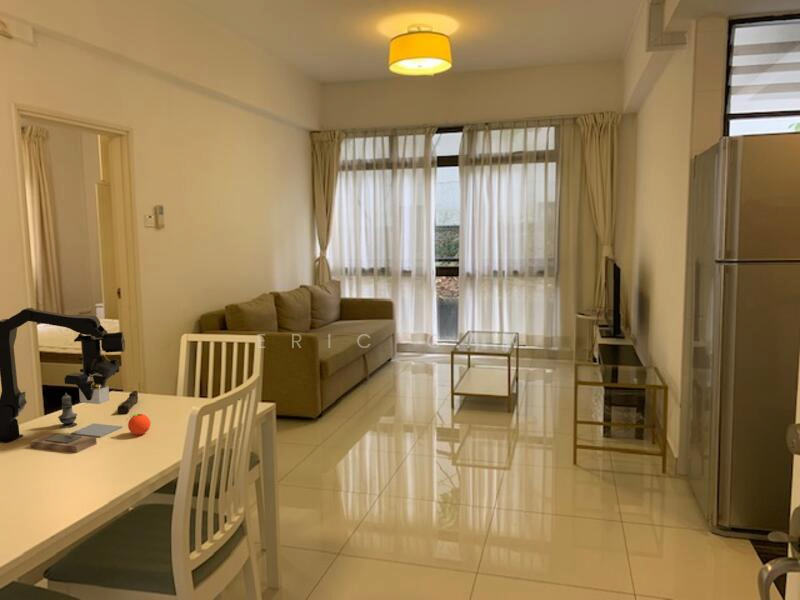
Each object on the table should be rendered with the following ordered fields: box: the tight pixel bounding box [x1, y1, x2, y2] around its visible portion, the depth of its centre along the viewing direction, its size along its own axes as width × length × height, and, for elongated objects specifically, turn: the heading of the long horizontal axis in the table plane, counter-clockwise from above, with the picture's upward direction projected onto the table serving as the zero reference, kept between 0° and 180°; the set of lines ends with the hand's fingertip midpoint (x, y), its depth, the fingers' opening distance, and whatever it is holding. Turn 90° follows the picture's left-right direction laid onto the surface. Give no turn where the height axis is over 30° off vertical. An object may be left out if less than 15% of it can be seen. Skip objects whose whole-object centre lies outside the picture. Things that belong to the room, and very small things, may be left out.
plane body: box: [30, 432, 97, 454], centre depth 190 cm, size 18×8×2 cm, turn 75°
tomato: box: [126, 413, 151, 436], centre depth 200 cm, size 8×7×7 cm
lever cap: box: [78, 383, 110, 405], centre depth 202 cm, size 8×4×6 cm, turn 75°
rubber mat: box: [70, 423, 123, 438], centre depth 203 cm, size 12×10×1 cm
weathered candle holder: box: [58, 392, 78, 429], centre depth 208 cm, size 6×6×12 cm
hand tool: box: [117, 390, 139, 415], centre depth 230 cm, size 19×4×5 cm, turn 7°
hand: (94, 398), depth 202 cm, fingers closed on lever cap, 4 cm apart
